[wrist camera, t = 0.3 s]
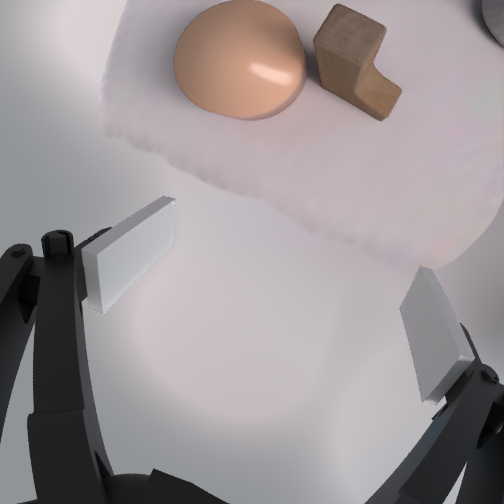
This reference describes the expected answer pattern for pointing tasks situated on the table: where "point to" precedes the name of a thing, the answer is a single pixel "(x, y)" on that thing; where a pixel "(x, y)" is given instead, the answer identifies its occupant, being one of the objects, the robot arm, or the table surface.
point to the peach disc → (241, 60)
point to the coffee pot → (494, 18)
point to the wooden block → (354, 61)
